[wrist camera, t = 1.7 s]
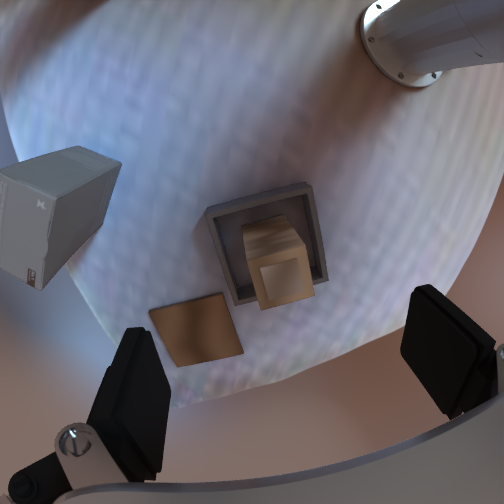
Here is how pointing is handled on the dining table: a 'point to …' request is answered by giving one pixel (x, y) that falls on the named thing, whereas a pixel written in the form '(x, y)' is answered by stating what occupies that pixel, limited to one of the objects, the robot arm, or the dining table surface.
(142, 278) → the dining table surface
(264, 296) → the beech block
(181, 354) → the walnut board
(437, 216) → the dining table surface
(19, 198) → the skincare box
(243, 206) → the bin
